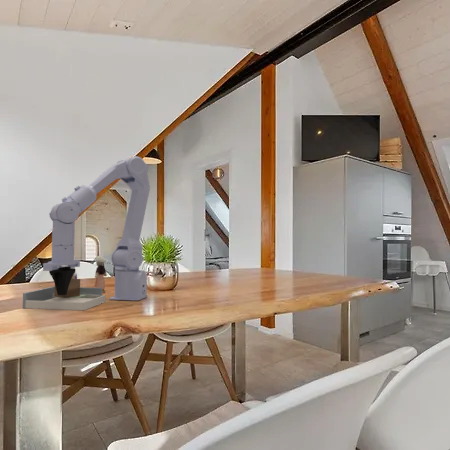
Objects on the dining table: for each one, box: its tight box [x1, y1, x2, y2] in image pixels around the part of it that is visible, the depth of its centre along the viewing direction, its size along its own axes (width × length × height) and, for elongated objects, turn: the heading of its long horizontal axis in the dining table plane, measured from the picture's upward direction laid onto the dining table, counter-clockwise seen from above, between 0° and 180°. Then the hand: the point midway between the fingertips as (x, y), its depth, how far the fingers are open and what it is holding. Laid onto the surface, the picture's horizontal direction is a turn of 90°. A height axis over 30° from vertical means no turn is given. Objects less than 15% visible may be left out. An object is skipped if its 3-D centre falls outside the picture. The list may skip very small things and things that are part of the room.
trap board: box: [22, 286, 107, 311], centre depth 104 cm, size 18×13×4 cm
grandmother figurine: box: [93, 255, 108, 294], centre depth 127 cm, size 8×4×13 cm, turn 5°
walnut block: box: [54, 278, 81, 298], centre depth 107 cm, size 5×5×5 cm
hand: (62, 294), depth 102 cm, fingers closed
